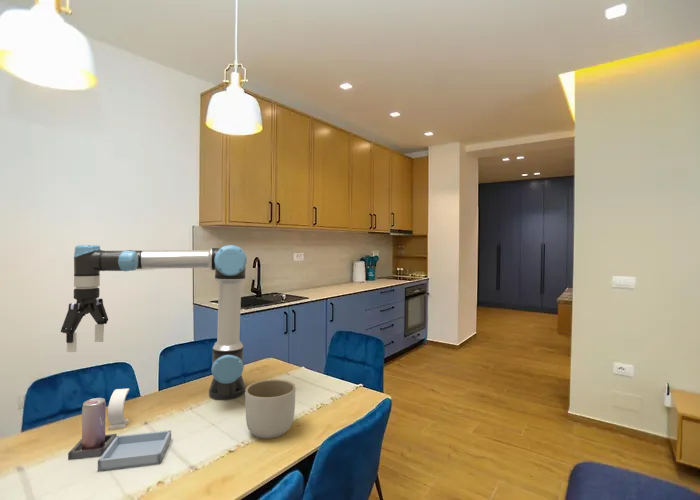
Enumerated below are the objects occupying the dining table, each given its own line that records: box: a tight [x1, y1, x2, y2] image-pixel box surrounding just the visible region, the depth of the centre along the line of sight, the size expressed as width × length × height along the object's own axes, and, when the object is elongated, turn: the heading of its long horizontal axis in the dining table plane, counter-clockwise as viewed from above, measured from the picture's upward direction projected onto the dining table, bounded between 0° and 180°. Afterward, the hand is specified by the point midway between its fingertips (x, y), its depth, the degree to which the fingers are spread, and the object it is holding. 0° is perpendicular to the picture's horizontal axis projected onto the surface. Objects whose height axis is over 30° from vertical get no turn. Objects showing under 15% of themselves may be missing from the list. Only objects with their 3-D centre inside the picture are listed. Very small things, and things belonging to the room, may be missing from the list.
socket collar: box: [67, 433, 118, 461], centre depth 112 cm, size 10×10×2 cm
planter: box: [244, 378, 297, 440], centre depth 125 cm, size 17×17×15 cm
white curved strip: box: [107, 388, 131, 430], centre depth 127 cm, size 5×6×12 cm
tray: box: [97, 429, 172, 473], centre depth 110 cm, size 16×14×3 cm
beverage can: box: [81, 397, 107, 450], centre depth 112 cm, size 6×6×15 cm
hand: (86, 346), depth 130 cm, fingers open, 13 cm apart
